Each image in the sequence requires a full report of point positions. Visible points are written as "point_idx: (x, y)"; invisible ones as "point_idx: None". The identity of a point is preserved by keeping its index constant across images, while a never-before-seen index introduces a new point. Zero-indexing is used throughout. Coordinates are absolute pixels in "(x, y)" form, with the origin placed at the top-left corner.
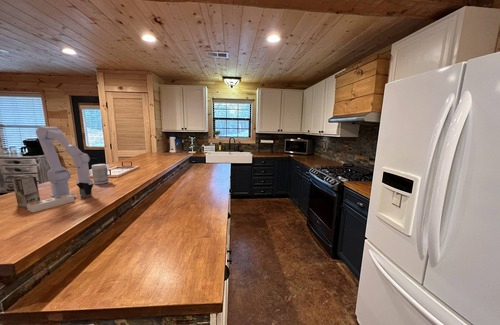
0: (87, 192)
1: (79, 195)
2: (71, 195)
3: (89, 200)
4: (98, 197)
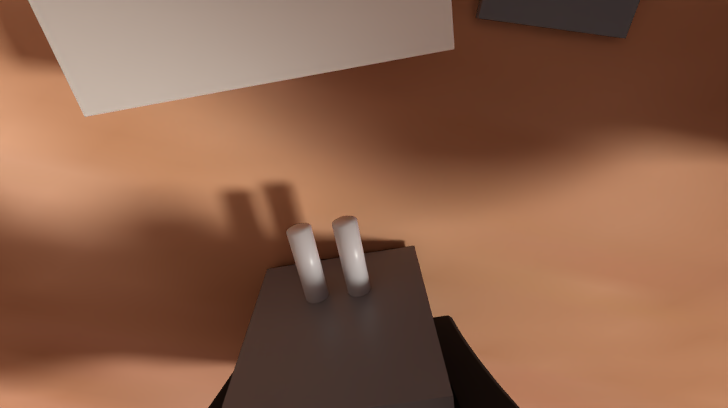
0: None
1: (293, 249)
2: (161, 82)
3: (31, 282)
4: (134, 398)
